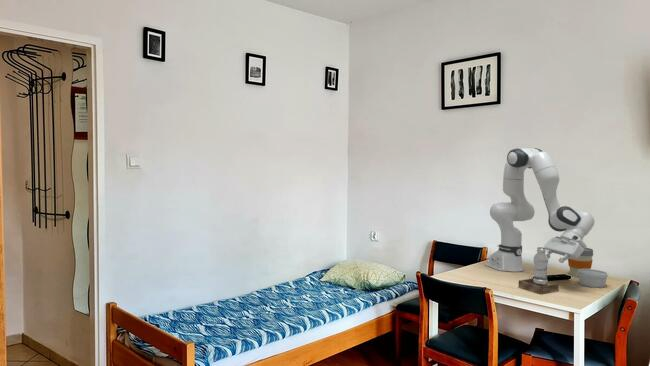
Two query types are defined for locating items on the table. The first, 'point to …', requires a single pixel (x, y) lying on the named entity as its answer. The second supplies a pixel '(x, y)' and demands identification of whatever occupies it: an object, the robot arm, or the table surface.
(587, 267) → the reusable coffee cup
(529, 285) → the brown wooden tray
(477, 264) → the table surface
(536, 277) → the plastic bottle
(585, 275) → the ramekin
